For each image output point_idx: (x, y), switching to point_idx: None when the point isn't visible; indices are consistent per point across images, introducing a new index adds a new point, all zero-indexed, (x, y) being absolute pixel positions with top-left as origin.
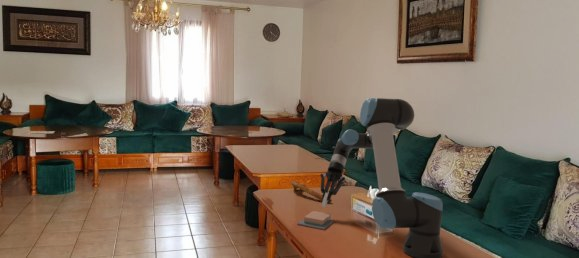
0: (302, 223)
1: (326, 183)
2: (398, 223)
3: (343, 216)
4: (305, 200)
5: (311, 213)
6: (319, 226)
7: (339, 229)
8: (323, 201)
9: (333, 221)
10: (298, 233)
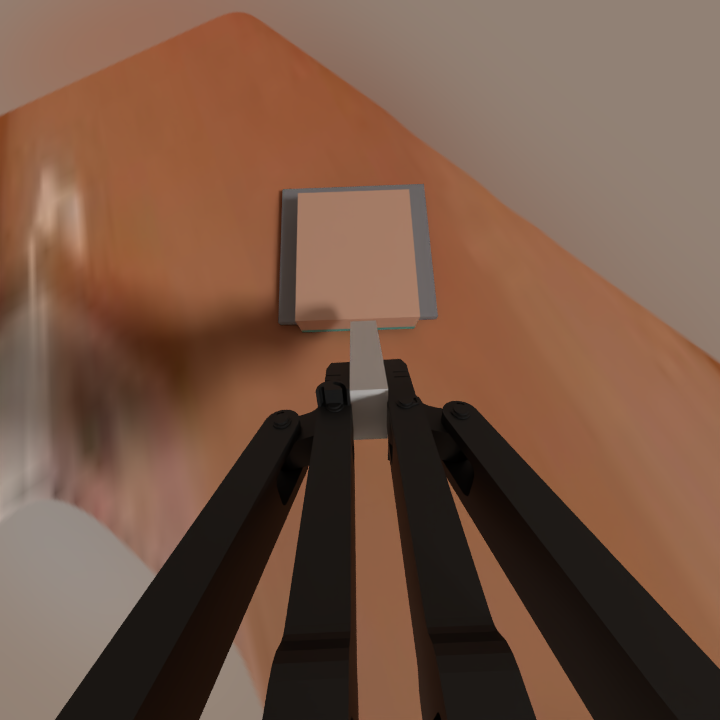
0: None
1: (459, 527)
2: None
3: None
4: None
5: (404, 262)
6: None
7: (223, 238)
8: (369, 332)
9: (279, 311)
10: (363, 107)
